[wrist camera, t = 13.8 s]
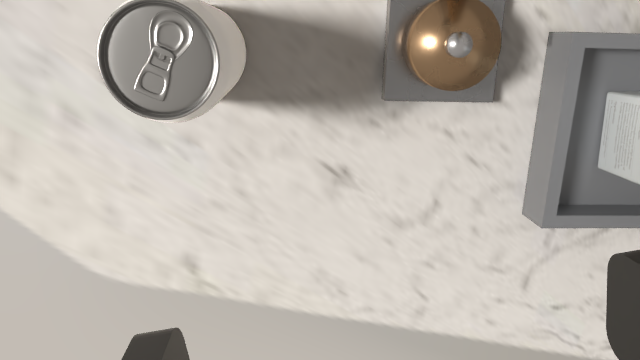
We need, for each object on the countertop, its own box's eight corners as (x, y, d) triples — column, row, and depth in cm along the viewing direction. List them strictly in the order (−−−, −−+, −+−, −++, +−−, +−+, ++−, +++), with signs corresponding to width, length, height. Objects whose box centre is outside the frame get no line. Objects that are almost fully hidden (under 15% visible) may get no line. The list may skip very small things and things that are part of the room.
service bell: (388, -18, 34) (403, -26, 30) (501, -14, 34) (530, -21, 30) (381, 98, 36) (394, 106, 32) (487, 100, 37) (512, 108, 33)
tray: (549, 32, 36) (573, 31, 33) (729, 37, 37) (768, 37, 34) (522, 213, 40) (541, 228, 37) (685, 213, 41) (717, 227, 38)
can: (261, 28, 34) (249, 24, 23) (227, 113, 36) (200, 149, 24) (171, -14, 33) (111, -40, 22) (140, 76, 35) (69, 96, 23)
